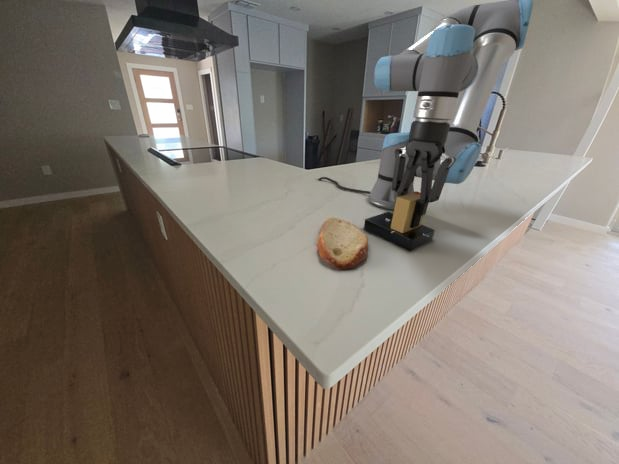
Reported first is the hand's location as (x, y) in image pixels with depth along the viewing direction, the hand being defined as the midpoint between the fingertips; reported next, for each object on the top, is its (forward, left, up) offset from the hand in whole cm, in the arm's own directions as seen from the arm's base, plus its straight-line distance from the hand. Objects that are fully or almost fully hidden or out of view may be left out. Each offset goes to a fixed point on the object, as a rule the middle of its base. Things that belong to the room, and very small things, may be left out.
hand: (406, 223), depth 63 cm
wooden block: (0, 0, -1) cm, 1 cm away
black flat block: (-2, -1, -4) cm, 5 cm away
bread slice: (-1, -18, -4) cm, 18 cm away
